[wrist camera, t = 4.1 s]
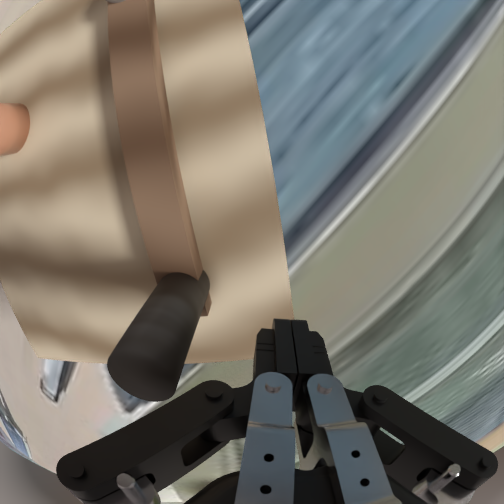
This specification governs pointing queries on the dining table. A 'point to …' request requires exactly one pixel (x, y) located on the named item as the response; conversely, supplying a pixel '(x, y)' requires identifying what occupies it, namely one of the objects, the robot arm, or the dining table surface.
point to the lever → (153, 211)
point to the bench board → (118, 188)
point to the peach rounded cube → (13, 127)
